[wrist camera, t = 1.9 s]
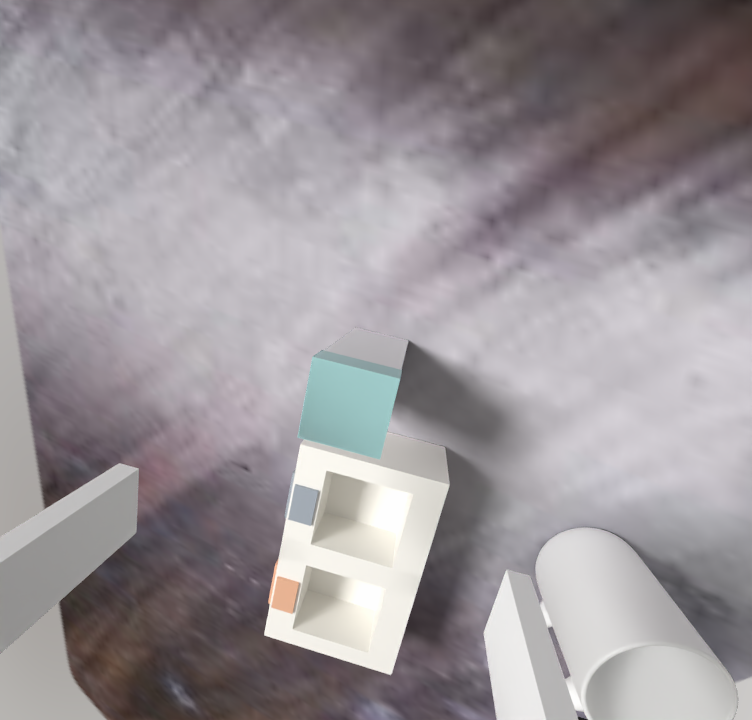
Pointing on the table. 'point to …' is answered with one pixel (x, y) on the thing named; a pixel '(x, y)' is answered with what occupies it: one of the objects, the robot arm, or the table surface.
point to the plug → (353, 392)
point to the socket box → (356, 548)
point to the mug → (626, 635)
